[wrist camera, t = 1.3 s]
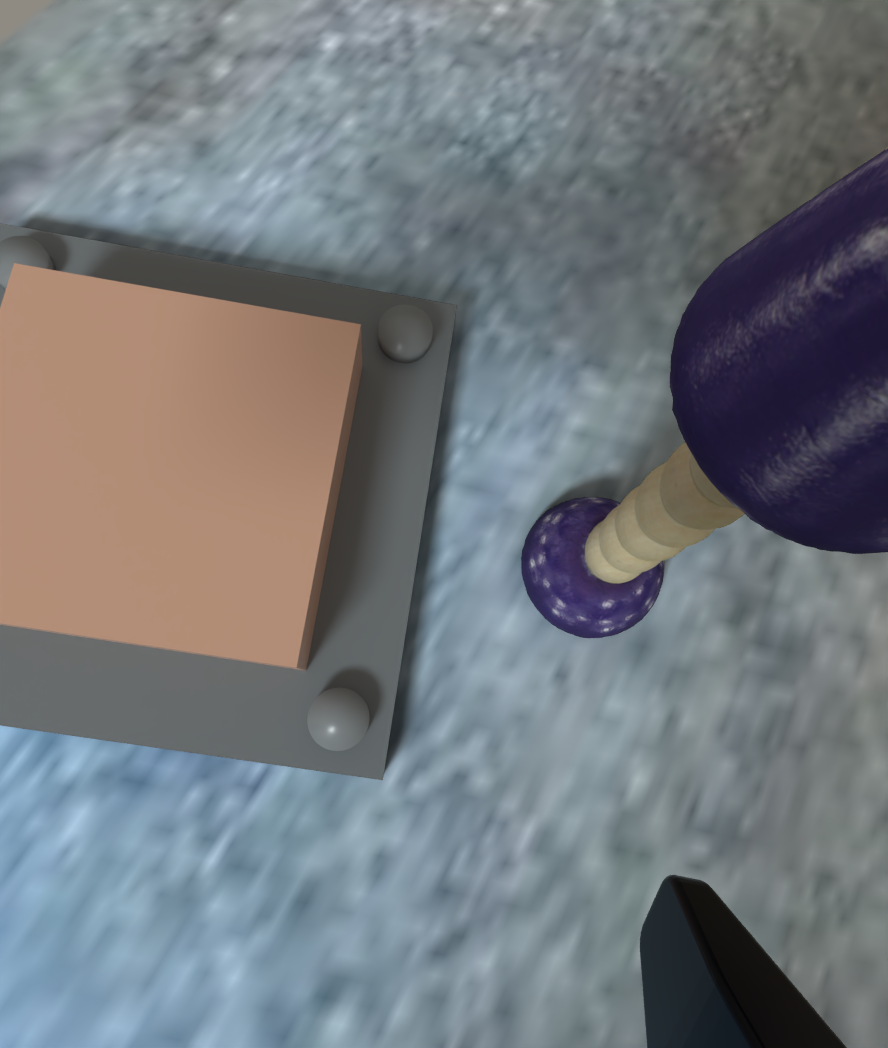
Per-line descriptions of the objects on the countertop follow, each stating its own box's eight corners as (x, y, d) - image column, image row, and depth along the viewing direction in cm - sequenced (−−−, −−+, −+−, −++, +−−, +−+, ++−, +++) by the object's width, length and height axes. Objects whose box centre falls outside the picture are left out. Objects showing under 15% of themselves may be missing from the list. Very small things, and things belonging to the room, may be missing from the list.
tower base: (382, 776, 21) (383, 792, 17) (-137, 701, 20) (-244, 703, 17) (453, 320, 24) (467, 257, 21) (7, 241, 23) (-57, 161, 20)
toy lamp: (478, 577, 22) (749, 276, 6) (556, 452, 23) (964, -81, 7) (615, 665, 22) (1268, 594, 6) (688, 536, 23) (1410, 179, 7)
